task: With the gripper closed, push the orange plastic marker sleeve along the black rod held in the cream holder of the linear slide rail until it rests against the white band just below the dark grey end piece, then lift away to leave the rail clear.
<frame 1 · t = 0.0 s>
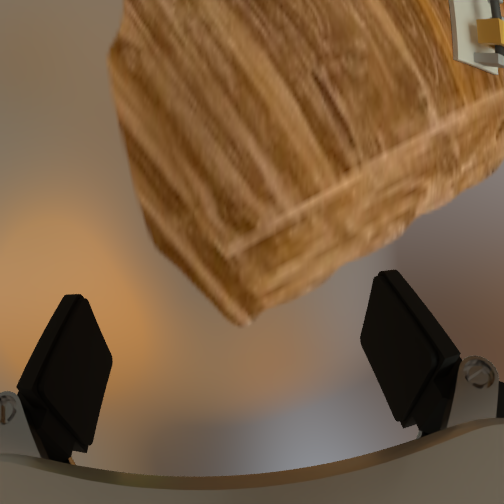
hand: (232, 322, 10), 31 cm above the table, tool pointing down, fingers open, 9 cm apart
linear slide rail: (471, 12, 27), on the table
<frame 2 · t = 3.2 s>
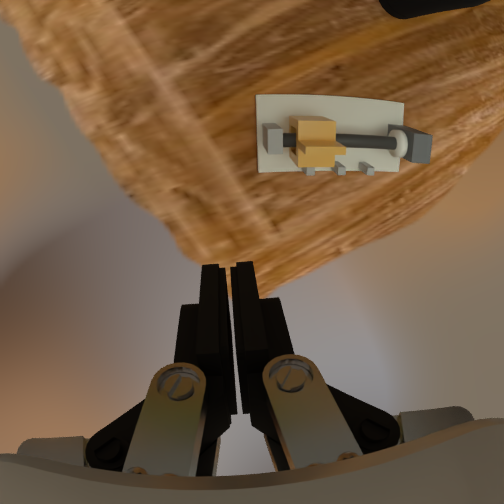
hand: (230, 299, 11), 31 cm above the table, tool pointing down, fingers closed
marker sleeve: (314, 142, 31), point 8 cm above the table, slide at 0.0 cm
linear slide rail: (332, 132, 38), on the table
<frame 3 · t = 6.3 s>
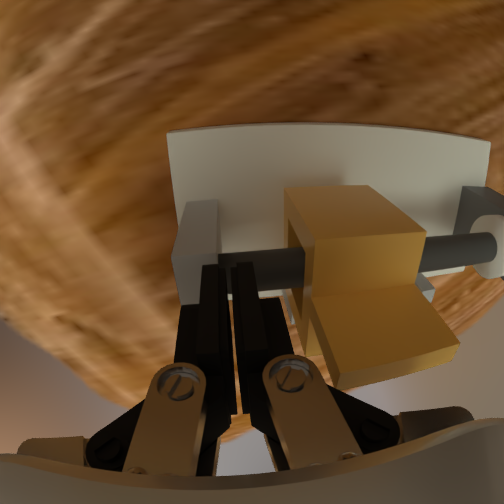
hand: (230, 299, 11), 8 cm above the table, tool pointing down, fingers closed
marker sleeve: (356, 285, 11), point 8 cm above the table, slide at 1.7 cm, touching gripper
linear slide rail: (352, 207, 18), on the table
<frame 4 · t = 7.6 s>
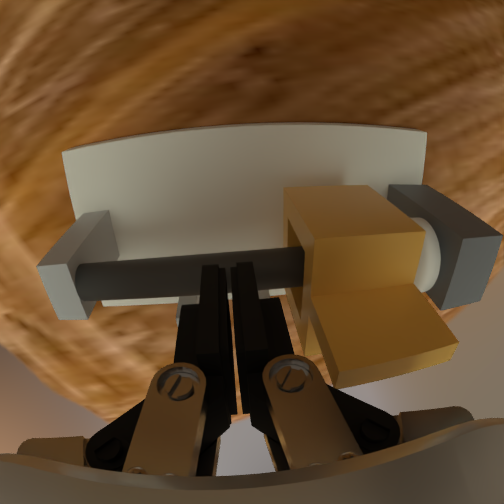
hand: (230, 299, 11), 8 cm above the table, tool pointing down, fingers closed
marker sleeve: (355, 284, 11), point 8 cm above the table, slide at 7.6 cm, touching gripper
linear slide rail: (253, 212, 18), on the table
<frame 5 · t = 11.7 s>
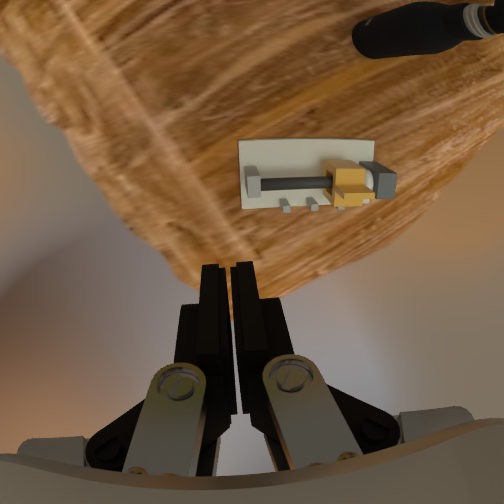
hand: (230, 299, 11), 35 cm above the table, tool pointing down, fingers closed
marker sleeve: (347, 185, 38), point 8 cm above the table, slide at 7.8 cm
linear slide rail: (308, 170, 44), on the table
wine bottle: (370, 39, 35), on the table
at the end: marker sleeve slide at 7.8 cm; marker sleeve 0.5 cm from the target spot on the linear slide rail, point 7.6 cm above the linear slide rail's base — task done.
